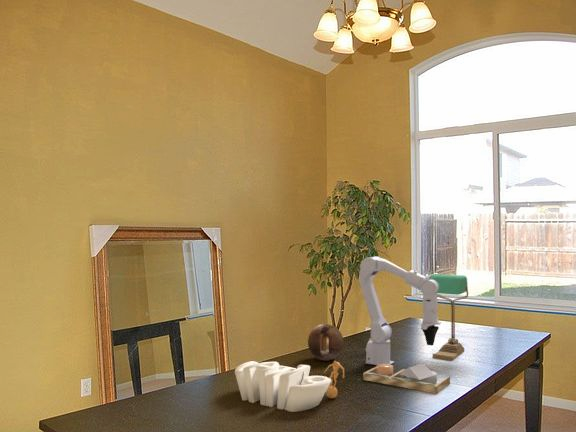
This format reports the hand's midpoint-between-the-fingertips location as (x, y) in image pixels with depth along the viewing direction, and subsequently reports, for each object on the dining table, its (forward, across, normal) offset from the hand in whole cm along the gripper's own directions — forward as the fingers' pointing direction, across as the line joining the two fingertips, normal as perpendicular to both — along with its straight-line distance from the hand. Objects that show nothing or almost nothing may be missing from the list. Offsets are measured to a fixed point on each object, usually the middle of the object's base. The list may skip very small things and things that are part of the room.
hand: (430, 344), depth 210 cm
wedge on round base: (+10, -18, -3) cm, 21 cm away
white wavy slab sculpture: (+10, -62, +29) cm, 69 cm away
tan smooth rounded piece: (+10, -20, +10) cm, 24 cm away
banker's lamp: (+10, +28, +2) cm, 30 cm away
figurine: (+10, -50, +15) cm, 53 cm away
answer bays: (+10, -19, +2) cm, 22 cm away
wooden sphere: (+10, -10, +42) cm, 44 cm away
